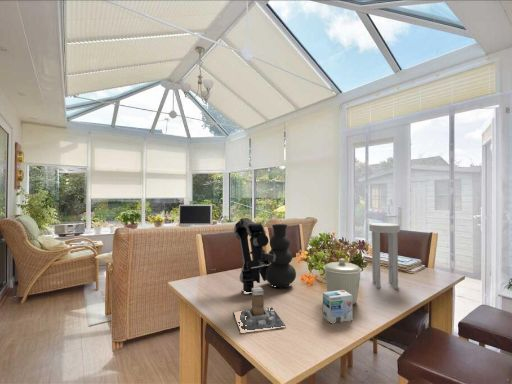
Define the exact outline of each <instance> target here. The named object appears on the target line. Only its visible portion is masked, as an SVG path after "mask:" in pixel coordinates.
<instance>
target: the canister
mask: <svg viewBox="0 0 512 384" xmlns="http://www.w3.org/2000/svg"><path fill="white" fill-rule="evenodd" d="M322 269H324V275H325V285H326V292H330V291H339V290H345V291H346V292H348V293H349V294H351V295H352V306H353V305H355V303H357V301H358V299H359V298H358V297H359V288H360V281H361V273H362V271H363V269H362V268H361V267H360V266H358V265H357V264H354V263H351V262H347V260H346V259H345V258H338V261H332V262H327V263H326V264H325V265H323V266H322Z"/></svg>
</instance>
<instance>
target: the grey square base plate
mask: <svg viewBox="0 0 512 384" xmlns="http://www.w3.org/2000/svg"><path fill="white" fill-rule="evenodd" d="M273 309H274V308H273V307H272V306H271V308H270V311H269V307H264V315H256V316H252V307H250V308H246V309H244V311H242V310H241V311H242V312H241V315H240V320H241V322H242V323H243V326H241V328H242V329H244V330H245V329H247V330H255V329H263V328H271V327H272V328H273V327H281V326H285V327H286V324H285V323H284V321H283V320H282V319H281V317H280V316H279V315H278V313H277V312H276V310H275V309H274V311H271V310H273ZM245 316H247V317H246V320H245ZM238 323H239V324H240V322H238ZM245 325H247V326H245ZM239 326H240V325H239Z"/></svg>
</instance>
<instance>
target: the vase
mask: <svg viewBox="0 0 512 384" xmlns="http://www.w3.org/2000/svg"><path fill="white" fill-rule="evenodd" d="M288 226H289V225H288V224H283V223H279V224H277V223H276V224H275V223H274V224H271V228H272V230H273V236H271V238H270V240H269V246H270V247H271V249H270V250H269V252H268V253H269V254H270V252H274V253H275V255H276V258H275V262H270V263H271V264H269V265H270V266H269V267H268V269H267V275H266V281H267V283H268V284H269V285H270V284H271V285H273V286H276V287H286V288H288V287H287V286H289V285H290V286H291V284H292V283H294V281H295V280H296V277H297V272H296V269H295V267H294V266H293V265H291V264H290V263H291V262H292V261H293V254H292V252H291V251H290V250H289V247H290V246H291V240H290V238H289V237H288V236H287V234H286V233H287V227H288ZM271 285H270V286H271ZM290 286H289V287H290Z"/></svg>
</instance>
